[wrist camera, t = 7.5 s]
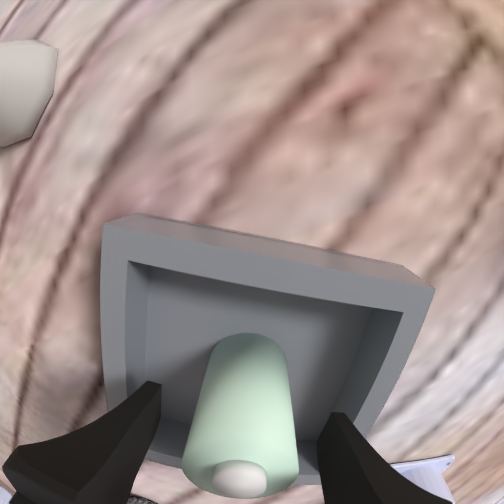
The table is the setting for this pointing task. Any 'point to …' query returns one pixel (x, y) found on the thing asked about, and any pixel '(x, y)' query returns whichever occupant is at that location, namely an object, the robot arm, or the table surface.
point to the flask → (24, 87)
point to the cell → (243, 422)
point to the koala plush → (139, 501)
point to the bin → (251, 323)
